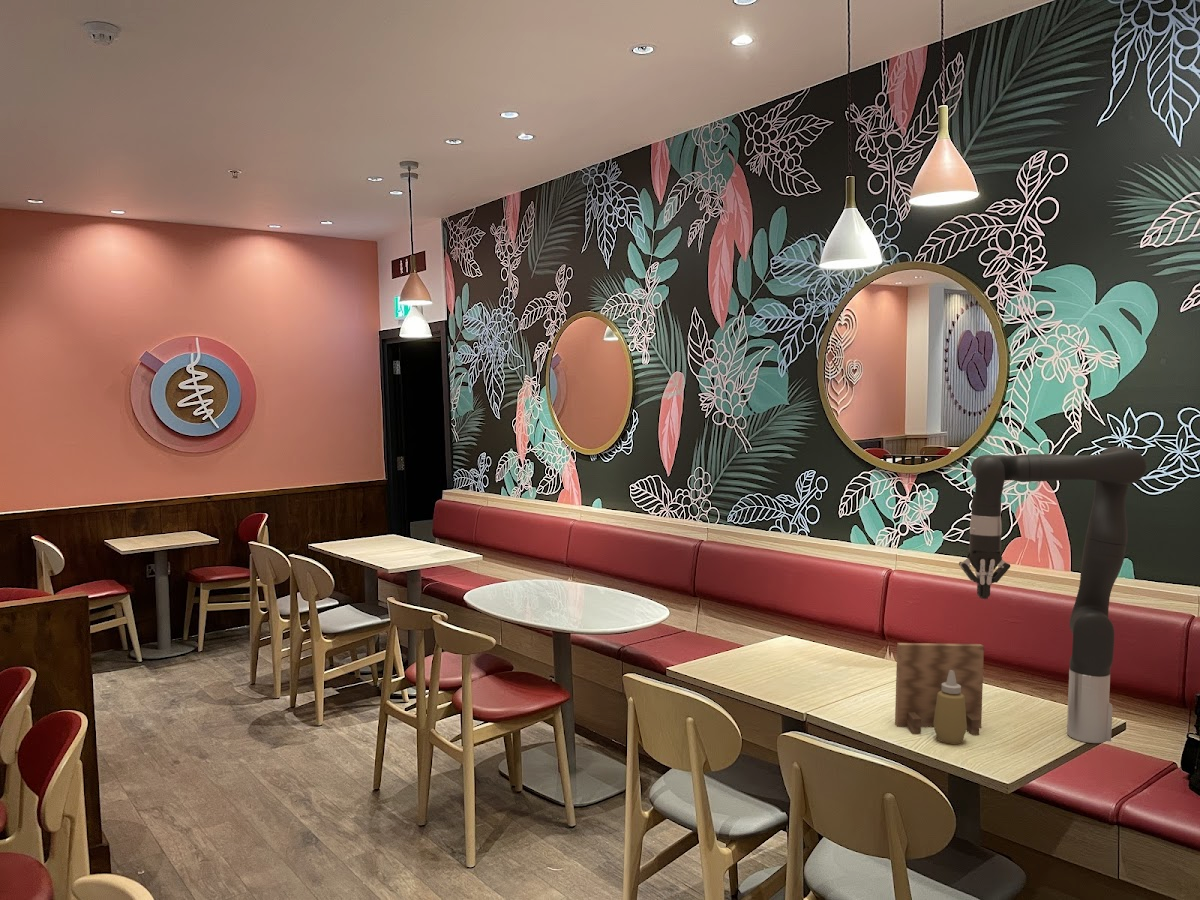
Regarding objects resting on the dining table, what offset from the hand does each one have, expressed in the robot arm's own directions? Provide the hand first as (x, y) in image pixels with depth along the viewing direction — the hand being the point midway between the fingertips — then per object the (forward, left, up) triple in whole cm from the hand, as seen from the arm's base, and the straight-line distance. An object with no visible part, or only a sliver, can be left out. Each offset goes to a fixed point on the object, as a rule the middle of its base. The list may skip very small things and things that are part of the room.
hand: (983, 598), depth 232 cm
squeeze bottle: (+10, +8, -35) cm, 38 cm away
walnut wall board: (+10, 0, -35) cm, 36 cm away
